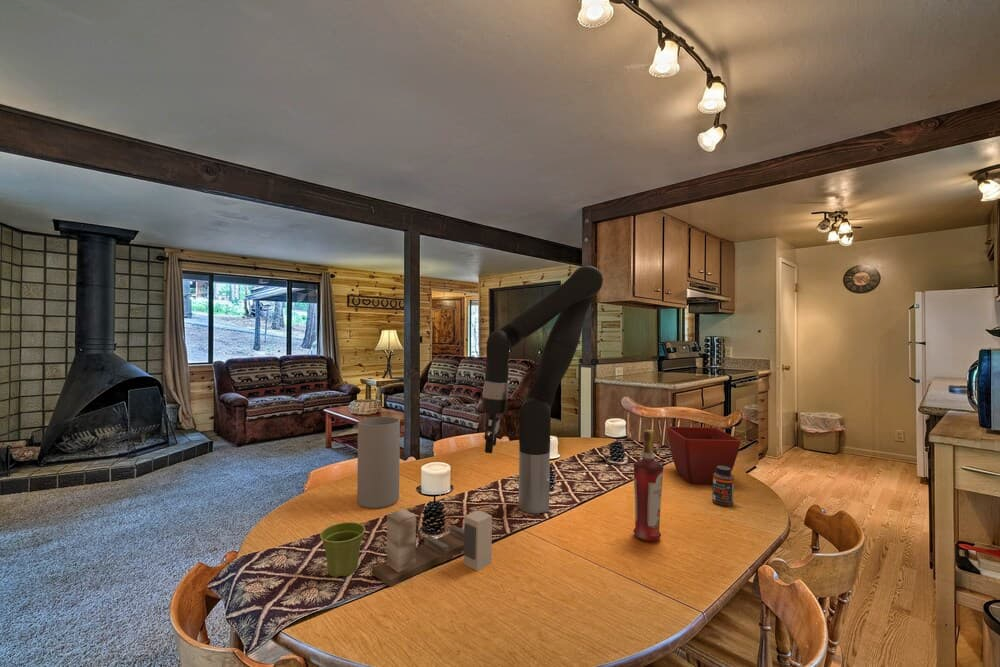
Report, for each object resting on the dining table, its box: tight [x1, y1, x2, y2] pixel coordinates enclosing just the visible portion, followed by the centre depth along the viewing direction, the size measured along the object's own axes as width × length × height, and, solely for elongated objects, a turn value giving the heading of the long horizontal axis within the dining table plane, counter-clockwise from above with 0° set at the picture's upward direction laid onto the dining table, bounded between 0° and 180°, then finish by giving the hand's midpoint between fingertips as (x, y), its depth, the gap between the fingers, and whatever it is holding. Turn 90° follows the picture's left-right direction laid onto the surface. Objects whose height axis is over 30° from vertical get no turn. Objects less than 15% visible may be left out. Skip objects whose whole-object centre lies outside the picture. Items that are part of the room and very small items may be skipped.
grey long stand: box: [371, 508, 464, 588], centre depth 102 cm, size 24×7×12 cm, turn 138°
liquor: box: [633, 429, 664, 543], centre depth 114 cm, size 7×7×28 cm
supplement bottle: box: [711, 466, 735, 507], centre depth 138 cm, size 6×6×11 cm
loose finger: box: [463, 509, 493, 572], centre depth 100 cm, size 5×4×11 cm
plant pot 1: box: [319, 521, 366, 578], centre depth 97 cm, size 9×9×9 cm
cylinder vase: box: [356, 416, 401, 509], centre depth 136 cm, size 12×12×25 cm
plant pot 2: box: [666, 426, 741, 485], centre depth 161 cm, size 19×19×17 cm
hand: (490, 448), depth 134 cm, fingers open, 8 cm apart
